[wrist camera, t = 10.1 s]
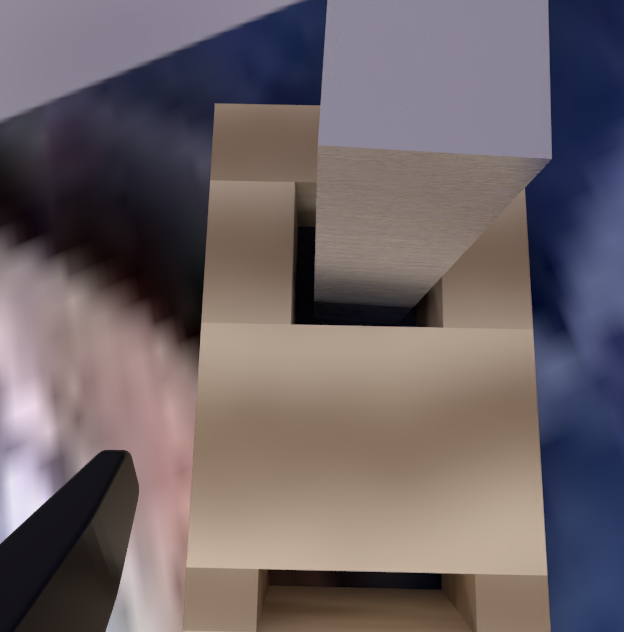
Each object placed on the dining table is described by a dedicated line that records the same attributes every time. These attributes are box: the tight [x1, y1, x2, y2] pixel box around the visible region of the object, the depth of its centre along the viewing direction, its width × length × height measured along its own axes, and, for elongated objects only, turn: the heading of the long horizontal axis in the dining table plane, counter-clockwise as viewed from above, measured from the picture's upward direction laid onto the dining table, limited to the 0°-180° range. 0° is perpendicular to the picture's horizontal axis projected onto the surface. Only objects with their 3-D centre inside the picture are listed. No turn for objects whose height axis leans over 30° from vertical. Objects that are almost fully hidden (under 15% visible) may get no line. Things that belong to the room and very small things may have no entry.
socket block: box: [183, 104, 551, 632], centre depth 17 cm, size 20×10×4 cm, turn 179°
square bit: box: [314, 0, 552, 324], centre depth 14 cm, size 3×3×13 cm
